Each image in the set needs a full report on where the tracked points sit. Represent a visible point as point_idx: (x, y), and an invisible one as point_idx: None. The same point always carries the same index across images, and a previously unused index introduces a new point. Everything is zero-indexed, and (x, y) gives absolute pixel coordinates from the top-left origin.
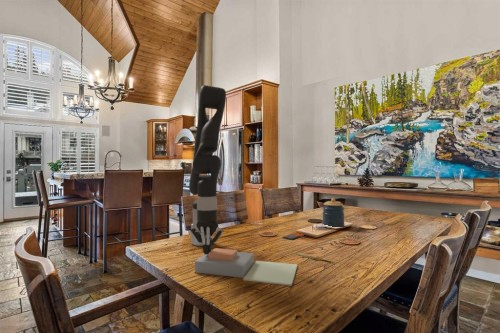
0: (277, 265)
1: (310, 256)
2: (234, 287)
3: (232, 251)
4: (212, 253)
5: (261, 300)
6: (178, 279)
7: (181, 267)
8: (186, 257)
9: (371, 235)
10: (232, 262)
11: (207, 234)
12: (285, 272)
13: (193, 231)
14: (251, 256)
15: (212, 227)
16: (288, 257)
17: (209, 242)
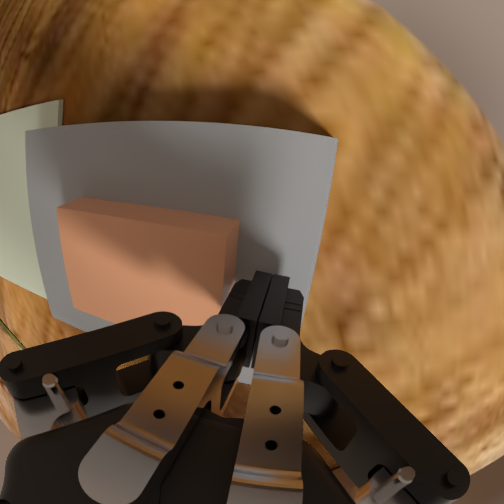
0: (17, 263)
1: (6, 333)
2: (83, 26)
3: (80, 281)
4: (189, 228)
5: (25, 2)
6: (392, 31)
7: (440, 220)
8: (427, 364)
9: (12, 411)
10: (70, 164)
11: (180, 402)
12: None
13: (435, 469)
14: (42, 277)
15: (58, 468)
16: (34, 338)
17: (202, 328)
